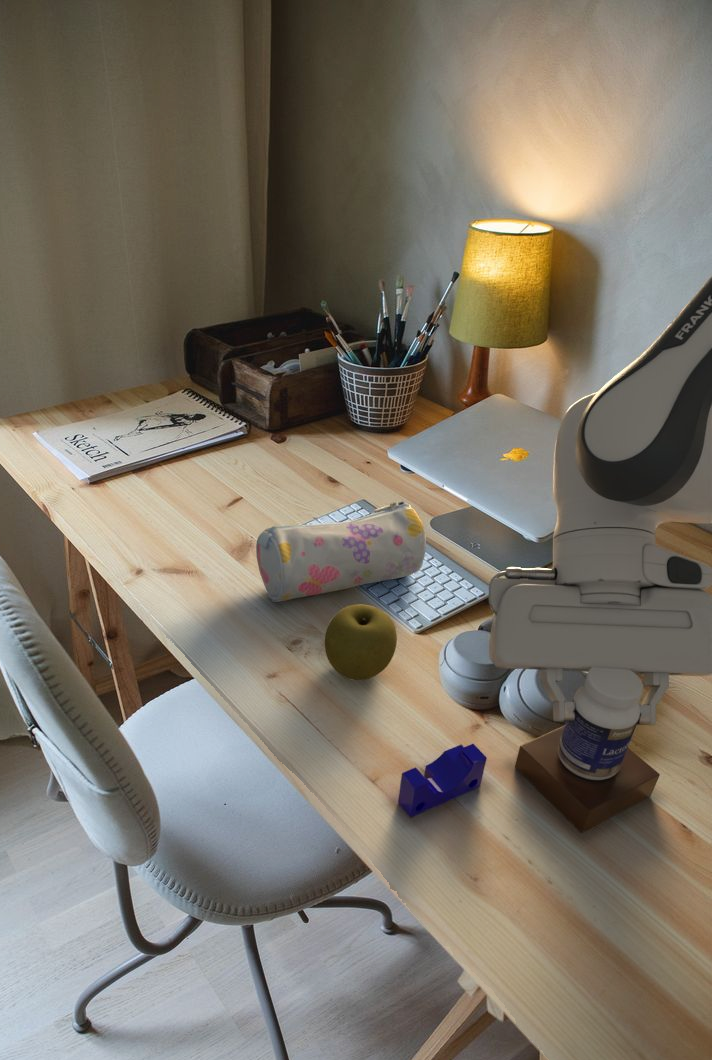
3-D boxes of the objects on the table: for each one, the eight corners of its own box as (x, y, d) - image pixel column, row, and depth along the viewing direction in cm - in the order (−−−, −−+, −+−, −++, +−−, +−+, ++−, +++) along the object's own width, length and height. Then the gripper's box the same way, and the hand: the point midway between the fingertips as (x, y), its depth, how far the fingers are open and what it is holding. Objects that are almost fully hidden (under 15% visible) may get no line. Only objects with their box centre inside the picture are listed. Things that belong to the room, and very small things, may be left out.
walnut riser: (581, 735, 84) (588, 714, 82) (651, 795, 78) (660, 774, 76) (514, 767, 80) (519, 745, 78) (581, 833, 74) (589, 811, 72)
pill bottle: (602, 793, 74) (631, 712, 68) (545, 760, 77) (568, 680, 71) (630, 758, 77) (660, 679, 71) (574, 728, 80) (599, 649, 74)
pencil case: (396, 549, 111) (403, 486, 105) (429, 584, 105) (438, 519, 99) (250, 582, 104) (249, 517, 98) (276, 621, 98) (276, 554, 92)
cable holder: (457, 762, 80) (463, 733, 78) (480, 786, 78) (486, 757, 76) (389, 791, 77) (392, 761, 75) (410, 817, 75) (414, 788, 72)
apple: (407, 668, 91) (414, 617, 87) (359, 703, 87) (364, 651, 82) (356, 637, 96) (360, 587, 91) (308, 669, 91) (310, 617, 87)
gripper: (496, 558, 72) (495, 717, 70) (731, 568, 72) (736, 728, 70) (481, 572, 78) (479, 718, 77) (698, 581, 78) (701, 728, 76)
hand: (604, 723), depth 73 cm, fingers closed on pill bottle, 6 cm apart
